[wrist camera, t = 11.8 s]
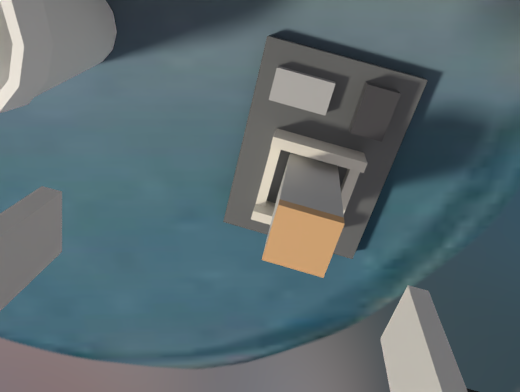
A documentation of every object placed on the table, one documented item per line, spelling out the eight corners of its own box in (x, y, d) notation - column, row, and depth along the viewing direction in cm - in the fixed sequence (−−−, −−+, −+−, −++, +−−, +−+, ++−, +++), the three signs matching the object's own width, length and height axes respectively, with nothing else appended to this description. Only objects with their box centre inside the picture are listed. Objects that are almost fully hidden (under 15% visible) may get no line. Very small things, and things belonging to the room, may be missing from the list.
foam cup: (157, 51, 31) (60, 70, 20) (73, 104, 34) (-55, 149, 23) (84, -72, 29) (-80, -134, 17) (0, -2, 32) (-191, -14, 20)
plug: (290, 152, 32) (278, 204, 23) (337, 165, 32) (344, 223, 23) (277, 195, 34) (261, 259, 25) (322, 208, 34) (323, 277, 25)
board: (269, 35, 30) (262, 37, 26) (423, 78, 30) (437, 85, 26) (226, 215, 37) (216, 235, 33) (351, 251, 36) (354, 275, 33)
